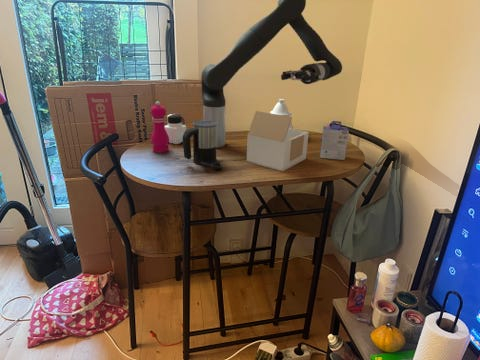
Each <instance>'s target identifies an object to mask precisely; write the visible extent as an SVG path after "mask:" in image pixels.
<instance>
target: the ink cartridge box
mask: <svg viewBox="0 0 480 360" xmlns="http://www.w3.org/2000/svg"><path fill="white" fill-rule="evenodd" d="M349 131H350V129H349V127H344V126H342V121H338V120H332V121H331V126H327V125H324V126H323V128H322V137H321V145H320V146H321V147H320V153H319V158H320V159H331V160H339V161H340V160H342V161H343V160H344V161H345V160H346V154H347V146H348V140H349V134H350V133H349Z"/></svg>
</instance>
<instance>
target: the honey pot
mask: <svg viewBox="0 0 480 360" xmlns="http://www.w3.org/2000/svg"><path fill="white" fill-rule="evenodd" d="M285 101H286V99H283V98H279V99H278V102H277V103H276V104H275V106H274V107H273V109H272V110H271V111H269V113H270V114H276V115H282V116H287V117H291V116H292V111H290V110H289V109H288V107H287V105H286V104H285ZM289 128H292V129H294V125H293V122H292V121H291V122H290V125H289Z"/></svg>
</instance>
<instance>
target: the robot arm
mask: <svg viewBox="0 0 480 360" xmlns="http://www.w3.org/2000/svg"><path fill="white" fill-rule="evenodd" d="M306 4H307V0H278V1H277V7H275V9H274V10H272V12H270V13H269V14H268V15H266V16H265V17H263V18H261V19H260V20H258V21H257V22H256V23H254V24H253V25H252V26H251V27H250V28H248V29H247V30H246V31H245V32H244V33H243V34H242V35H241V36H240V37H239V38H238V40H236V42H235V44H234V46H233V47H232V49H231V51H229V53H228V54H227V55H226V56H225V57H224V58H223V59H221V60H220V62H218V63H217V64H208V65H206V66H205V67H204V68H203V70H202V72H201V78H200V79H201V98H202V102H203V103H202V104H203V121H214V122H216V123H217V125H216V149H217V148H223V147H224V146H226V98H225V95H224V88H225V86H226V85H228V83H229V82H230V81H231V80H232V78H233V77H234V76H235V75H236V74H237V72H239V70H241V69H242V68H243V67H244V66H245V65H247V64H248V63H249V62H250V61H251V60H252V59H253V58H254V57H255V56H256V55H257V54H259V53H260V52H261V51H262V50H263V49H264V48H265V47H266V46H267V45H268V44H269V43H270V42H271V41H272V40H273V39H274V38H275V37H276V36H277V34H279V32H280V31H282V29H283V28H285V27H286V26H287V25H289V26H290V27H291V28H292V30H293V31H294V32H295V33H296V35H297V37H299V38H300V40H301V41H302V43H303V45H304V47H305V48H306V50H307V51H308V53H309V55H310V56H311V58H312V59H313V61H314V62H313V63H308V64H304V65H302V66H301V67H300V69H298V70H287V71H282V74H281V76H280V79H281V81H285V80H291V81H300V82H301V83H302V84H304V85H312V84H315V83H317V82H321V81H326V80H327V81H328V80H329V79H331V78H333V77H336V76H337V75H339V74H341V73H342V71H343V64H342V62H341V60H340V59H339V58H338V57H337V56H335V54H333V53H332V52H331V51H330V50H329V49H328V48H327V45H326V44H325V43H324V41H323V39H322V37H321V36H320V35H319V33H317V31H316V30H315V29H314V28H313V27H312V26H311V25H310V24H309V23H308V22H307V21H306V19H305V17H304V16H303V12H304V10H305V8H306ZM323 61H325V62H323ZM315 62H316V63H315Z"/></svg>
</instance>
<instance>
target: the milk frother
mask: <svg viewBox="0 0 480 360" xmlns="http://www.w3.org/2000/svg"><path fill="white" fill-rule="evenodd" d="M192 125H193V127H191V128H188V129H186V131H185V132H184V134H183V142H182V147H183V155H184V158H185V159H187V160H191V159H192V157H193V159H192V161H193V163H195V164H196V165H197V164H198V165H204V166H207V167H210V168H213V169H215V170H218V171H219V170H220V169H223V168H224V165H223V164H221V163H220V162H218V158H217V148H216V125H217V123H216V122H214V121H204V120H196V121H193V122H192ZM191 139H192V140H193V141H192V143H193V145H192V144H191ZM192 146H193V150H192ZM192 152H193V153H192Z"/></svg>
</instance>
